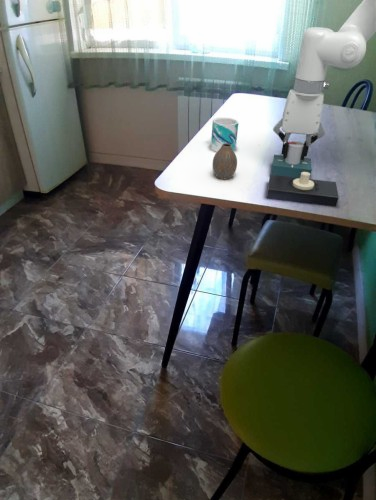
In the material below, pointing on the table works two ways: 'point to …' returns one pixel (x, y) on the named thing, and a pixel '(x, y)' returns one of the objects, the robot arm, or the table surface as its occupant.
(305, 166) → the panel
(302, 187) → the stopper
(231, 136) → the mug
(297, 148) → the tap knob
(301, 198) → the black plate with hole
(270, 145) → the table surface
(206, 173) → the table surface
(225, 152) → the vase
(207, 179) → the table surface
